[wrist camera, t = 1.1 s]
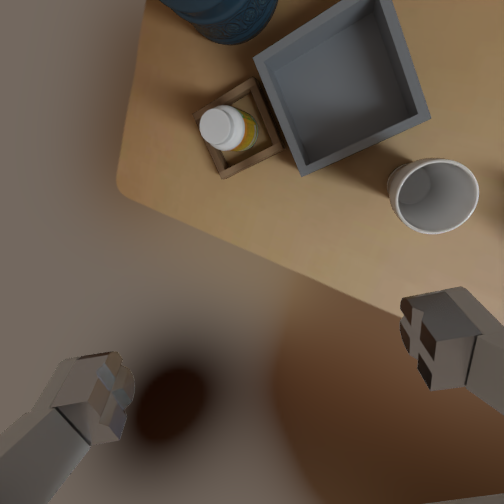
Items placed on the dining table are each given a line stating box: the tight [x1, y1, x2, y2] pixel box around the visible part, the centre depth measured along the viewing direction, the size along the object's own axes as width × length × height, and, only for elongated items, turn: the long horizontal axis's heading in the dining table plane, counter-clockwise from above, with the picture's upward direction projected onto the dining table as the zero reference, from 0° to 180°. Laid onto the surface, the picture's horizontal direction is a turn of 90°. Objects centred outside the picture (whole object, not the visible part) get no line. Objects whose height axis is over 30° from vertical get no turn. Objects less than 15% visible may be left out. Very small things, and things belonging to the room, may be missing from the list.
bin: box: [253, 0, 431, 177], centre depth 38 cm, size 15×15×6 cm
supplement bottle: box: [199, 105, 258, 151], centre depth 42 cm, size 5×5×10 cm
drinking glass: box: [387, 158, 479, 234], centre depth 35 cm, size 7×7×15 cm
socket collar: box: [193, 77, 285, 179], centre depth 45 cm, size 10×10×2 cm
